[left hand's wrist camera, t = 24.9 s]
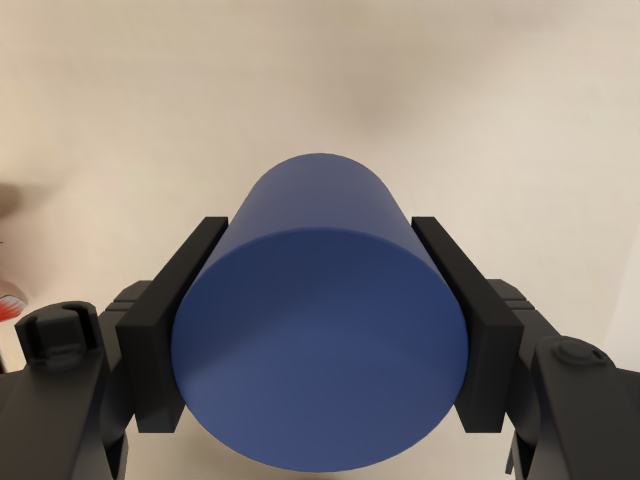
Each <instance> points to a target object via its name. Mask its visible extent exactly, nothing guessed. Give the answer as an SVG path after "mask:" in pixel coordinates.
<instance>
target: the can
mask: <svg viewBox="0 0 640 480" xmlns="http://www.w3.org/2000/svg"><path fill="white" fill-rule="evenodd" d="M170 353H171V365H172V370H173V374H174V379H175V382H176V384H177V387H178V390H179V392H180V395H181V396H182V398H183V400H184V402H185V403H186V405H187V407H188V409H189V410H190V411H191V413H192V414H193V415H194V417H195V418H196V419H197V420H198V422H199V423H200V424H201V425H202V426H203V427H204V428H205V429H206V430H207V431H208V432H209V433H210V434H212V435H213V436H214V437H215V438H217V439H218V440H219V441H221V442H222V443H223V444H225V445H226V446H228V447H230V448H231V449H233V450H234V451H236V452H238V453H240V454H242V455H244V456H246V457H248V458H250V459H253V460H256V461H259V462H261V463H264V464H267V465H271V466H275V467H278V468H282V469H288V470H294V471H302V472H337V471H345V470H352V469H356V468H361V467H365V466H369V465H372V464H375V463H378V462H381V461H384V460H386V459H388V458H391V457H393V456H395V455H397V454H399V453H401V452H403V451H405V450H406V449H408V448H410V447H412V446H413V445H415V444H416V443H417V442H419V441H420V440H421V439H423V438H424V437H425V436H427V435H428V434H429V433H430V432H431V431H432V430H433V429H434V428H435V427H436V426H437V425H438V424H439V423H440V422H441V421H442V419H443V418H444V417H445V416H446V415H447V413H448V412H449V410H450V409H451V407H452V406H453V404H454V402H455V401H456V399H457V397H458V395H459V392H460V390H461V388H462V386H463V383H464V379H465V375H466V372H467V366H468V357H469V340H468V332H467V327H466V323H465V319H464V316H463V314H462V311H461V308H460V306H459V303H458V302H457V300H456V298H455V297H454V295H453V293H452V291H451V290H450V288H449V286H448V285H447V283H446V282H445V280H444V278H443V277H442V275H441V274H440V272H439V270H438V269H437V267H436V266H435V264H434V262H433V261H432V259H431V258H430V256H429V254H428V253H427V251H426V250H425V248H424V246H423V245H422V243H421V242H420V240H419V238H418V237H417V235H416V233H415V232H414V230H413V229H412V227H411V225H410V224H409V222H408V221H407V219H406V217H405V216H404V214H403V213H402V211H401V209H400V208H399V206H398V205H397V203H396V201H395V200H394V198H393V197H392V195H391V193H390V192H389V190H388V189H387V187H386V186H385V185H384V183H383V182H382V181H381V180H380V179H379V178H378V177H377V176H376V175H375V174H374V173H373V172H372V171H371V170H369V169H368V168H366V167H365V166H364V165H362V164H360V163H358V162H356V161H354V160H351V159H349V158H346V157H343V156H339V155H334V154H325V153H316V154H306V155H301V156H297V157H294V158H291V159H288V160H286V161H284V162H282V163H280V164H278V165H276V166H275V167H273V168H272V169H270V170H269V171H268V172H267V173H265V174H264V175H263V176H262V177H261V178H260V179H259V180H258V182H257V183H256V184H255V185H254V187H253V188H252V190H251V191H250V193H249V194H248V196H247V198H246V199H245V201H244V202H243V204H242V206H241V207H240V209H239V210H238V212H237V214H236V215H235V217H234V218H233V220H232V222H231V223H230V225H229V226H228V228H227V229H226V231H225V233H224V234H223V236H222V237H221V239H220V241H219V242H218V244H217V245H216V247H215V249H214V250H213V252H212V253H211V255H210V257H209V258H208V260H207V261H206V263H205V265H204V266H203V268H202V269H201V271H200V273H199V274H198V276H197V277H196V279H195V281H194V282H193V284H192V285H191V287H190V288H189V290H188V292H187V293H186V295H185V296H184V298H183V300H182V302H181V305H180V307H179V309H178V311H177V313H176V317H175V320H174V324H173V328H172V333H171V343H170Z"/></svg>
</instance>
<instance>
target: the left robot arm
mask: <svg viewBox="0 0 640 480" xmlns="http://www.w3.org/2000/svg"><path fill="white" fill-rule="evenodd" d="M228 226H229V225H228V217H205V218H204V219H203V221H202V222H201V223H200V224H199V225H198V227H197V228H196V229H195V230H194V231H193V233H192V234H191V235H190V236H189V237H188V239H187V240H186V241H185V242H184V244H183V245H182V246H181V247H180V248H179V250H178V251H177V252H176V253H175V254H174V256H173V257H172V258H171V259H170V260H169V262H168V263H167V264H166V265H165V266H164V268H163V269H162V270H161V271H160V272H159V274H158V275H157V276H156V277H155V278H154V280H153V281H138V282H136V283H134V284H133V285H131V286H129V287H127V288H126V289H124V290H123V291H122V292H121V293H120V294H119V295H118V296H117V297H116V298H115V299H114V302H111V304H110V305H109V306H108V307H107V308H106V309H105V311H103V312H102V313H101V314H100V315H99V316H97V312H96V308H95V306H93V305H92V304H90V303H88V302H82V301H68V302H61V303H57V304H52V305H48V306H46V307H43V308H40V309H38V310H35V311H33V312H31V313H30V314H28V315H26V316H24V317H23V318H22V319H20V320H19V321H18V322H17V323H16V324H15V325H14V327H15V330H16V332H17V335H18V338H19V341H20V344H21V347H22V350H23V353H24V356H25V359H26V362H27V363H26V365H25V367H24V369H23V370H20V371H15V372H10V373H5V374H0V480H124V478H125V470H126V463H127V455H128V440H127V436H126V431H125V429H126V427H127V425H128V424H129V422H130V420H131V418H132V416H133V415H134V413H135V418H136V422H137V427H138V431H139V433H174V431H175V429H176V426H177V424H178V422H179V419H180V417H181V414H182V412H183V410H184V407H185V405H186V403H185V402H184V400H183V398H182V396H181V395H180V392H179V390H178V387H177V384H176V382H175V379H174V374H173V370H172V365H171V353H170V343H171V333H172V328H173V324H174V320H175V317H176V313H177V311H178V309H179V307H180V305H181V302H182V300H183V298H184V296H185V295H186V293H187V292H188V290H189V288H190V287H191V285H192V284H193V282H194V281H195V279H196V277H197V276H198V274H199V273H200V271H201V269H202V268H203V266H204V265H205V263H206V261H207V260H208V258H209V257H210V255H211V253H212V252H213V250H214V249H215V247H216V245H217V244H218V242H219V241H220V239H221V237H222V236H223V234H224V233H225V231H226V229H227V228H228ZM411 227H412V229H413V230H414V232H415V233H416V235H417V237H418V238H419V240H420V242H421V243H422V245H423V246H424V248H425V250H426V251H427V253H428V254H429V256H430V258H431V259H432V261H433V262H434V264H435V266H436V267H437V269H438V270H439V272H440V274H441V275H442V277H443V278H444V280H445V282H446V283H447V285H448V286H449V288H450V290H451V291H452V293H453V295H454V297H455V298H456V300H457V302H458V303H459V306H460V308H461V311H462V314H463V316H464V319H465V323H466V327H467V332H468V340H469V357H468V366H467V372H466V375H465V379H464V383H463V386H462V388H461V390H460V392H459V395H458V397H457V399H456V401H455V402H454V405H455V408H456V410H457V413H458V415H459V417H460V420H461V422H462V425H463V427H464V430H465V432H466V433H501V430H502V425H503V421H504V416H505V412H506V413H507V415H508V417H509V418H510V420H511V422H512V424H513V425H514V427H515V431H514V436H513V440H512V444H511V448H510V452H509V456H508V460H507V464H506V471H505V473H506V474H510V475H511V472H512V468H513V466H514V469H515V477H516V480H640V373H639V372H634V371H629V370H624V369H619V368H616V366H615V365H614V363H613V361H612V360H611V359H610V358H609V357H608V355H607V354H606V353H604V352H603V351H601V350H600V349H598V348H597V347H595V346H594V345H591V344H589V343H587V342H585V341H582V340H580V339H576V338H572V337H568V336H561V335H560V334H559V333H558V332H557V331H556V330H555V329H554V328H553V326H552V325H551V324H550V323H549V322H548V321H547V320H546V319H545V318H544V317H543V316H542V315H541V314H540V313H539V312H538V311H537V310H535V307H534V306H533V305H532V304H531V303H530V302H529V301H527V300H526V298H525V297H524V296H523V295H522V294H521V292H520V291H519V290H518V289H517V288H515V287H513V286H512V285H510V284H508V283H506V282H505V281H503V280H501V279H485V278H484V276H483V275H482V274H481V273H480V272H479V270H478V269H477V268H476V267H475V266H474V264H473V263H472V262H471V261H470V260H469V258H468V257H467V256H466V255H465V253H464V252H463V251H462V250H461V249H460V247H459V246H458V245H457V244H456V243H455V241H454V240H453V239H452V238H451V237H450V235H449V234H448V233H447V232H446V231H445V229H444V228H443V227H442V226H441V225H440V223H439V222H438V221H437V220H436V219H435V217H412V222H411Z"/></svg>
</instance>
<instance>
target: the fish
mask: <svg viewBox="0 0 640 480" xmlns="http://www.w3.org/2000/svg"><path fill="white" fill-rule="evenodd" d="M0 243H3V242H0ZM27 305H28V304H27V303H26V302H24V301H23V300H22V299H20V298H17V297H14V296H12V295H5V296H3V297H2V298H0V322H3V321H6V320H9V319H12V318H15V317H18V316H19V315H20V314H21V312H22V310H23V308H25V307H26V306H27Z"/></svg>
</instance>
